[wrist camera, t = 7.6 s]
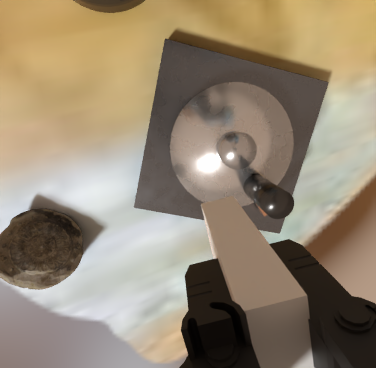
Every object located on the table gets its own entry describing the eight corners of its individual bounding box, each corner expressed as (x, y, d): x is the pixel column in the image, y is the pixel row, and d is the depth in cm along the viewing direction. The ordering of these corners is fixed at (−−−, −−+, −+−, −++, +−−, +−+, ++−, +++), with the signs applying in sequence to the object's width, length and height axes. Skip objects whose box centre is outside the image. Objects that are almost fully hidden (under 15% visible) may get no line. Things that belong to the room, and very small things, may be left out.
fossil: (90, 209, 38) (69, 273, 31) (93, 246, 44) (77, 307, 37) (8, 201, 36) (-35, 267, 29) (23, 240, 42) (-9, 303, 35)
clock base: (165, 42, 34) (165, 24, 27) (320, 84, 37) (354, 76, 30) (135, 202, 39) (129, 221, 32) (274, 228, 42) (295, 249, 35)
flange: (145, 129, 34) (138, 133, 25) (253, 57, 33) (285, 35, 24) (219, 238, 38) (235, 275, 29) (315, 178, 37) (362, 197, 28)
